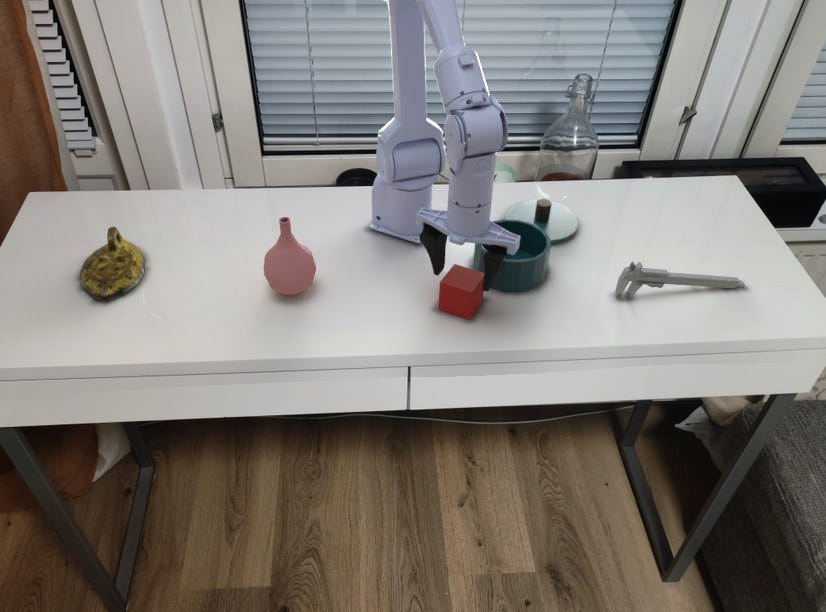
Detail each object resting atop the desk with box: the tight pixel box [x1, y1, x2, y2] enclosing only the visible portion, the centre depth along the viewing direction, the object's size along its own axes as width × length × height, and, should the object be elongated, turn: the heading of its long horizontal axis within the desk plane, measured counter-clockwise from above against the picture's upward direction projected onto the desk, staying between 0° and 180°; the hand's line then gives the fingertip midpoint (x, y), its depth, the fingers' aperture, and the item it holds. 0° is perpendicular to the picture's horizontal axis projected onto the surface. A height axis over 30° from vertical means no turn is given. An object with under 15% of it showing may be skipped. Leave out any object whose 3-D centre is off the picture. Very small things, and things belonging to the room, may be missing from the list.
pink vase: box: [263, 216, 317, 295], centre depth 110 cm, size 8×8×12 cm
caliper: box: [614, 260, 746, 299], centre depth 112 cm, size 20×1×6 cm, turn 99°
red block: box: [437, 263, 485, 320], centre depth 110 cm, size 5×5×5 cm
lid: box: [504, 198, 579, 244], centre depth 125 cm, size 12×12×4 cm
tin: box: [472, 218, 552, 293], centre depth 116 cm, size 11×11×6 cm
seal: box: [79, 225, 146, 302], centre depth 115 cm, size 9×5×15 cm
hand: (463, 279), depth 108 cm, fingers open, 7 cm apart
